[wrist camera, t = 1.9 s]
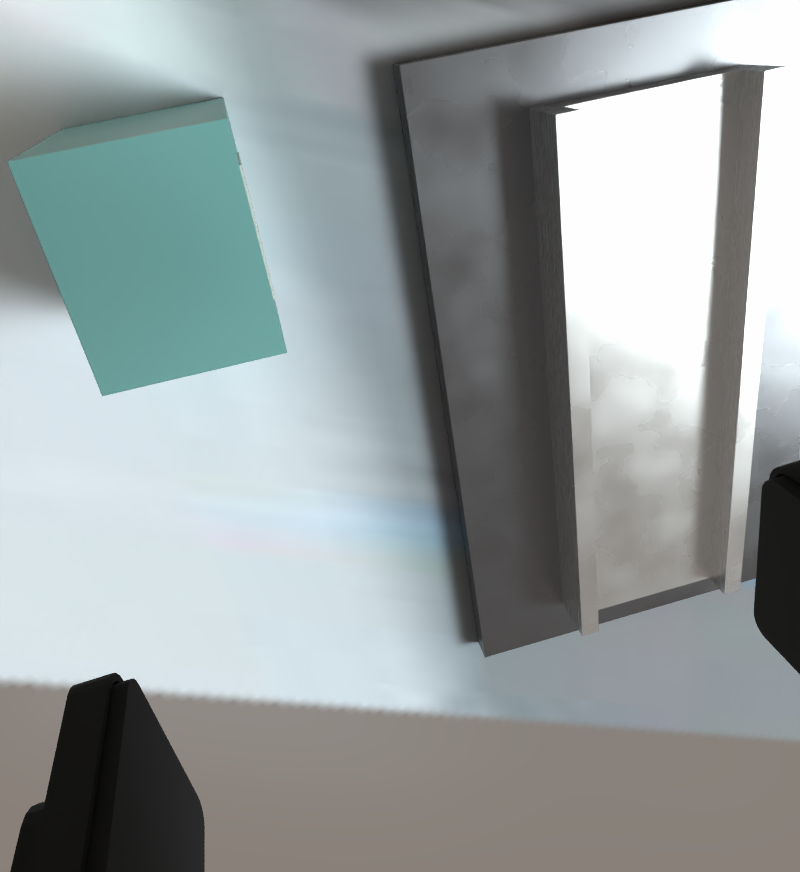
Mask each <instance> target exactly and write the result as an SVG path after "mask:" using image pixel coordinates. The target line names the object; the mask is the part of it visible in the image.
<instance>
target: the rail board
mask: <svg viewBox="0 0 800 872" xmlns="http://www.w3.org/2000/svg"><path fill="white" fill-rule="evenodd" d="M393 69H394V75H395V82H396V89H397V96H398V102H399V109H400V116H401V123H402V129H403V136H404V143H405V150H406V156H407V163H408V170H409V176H410V183H411V190H412V197H413V203H414V210H415V217H416V224H417V230H418V237H419V244H420V251H421V257H422V264H423V271H424V278H425V284H426V291H427V298H428V305H429V311H430V318H431V325H432V332H433V338H434V345H435V352H436V358H437V365H438V372H439V379H440V385H441V392H442V399H443V406H444V412H445V419H446V426H447V433H448V439H449V446H450V453H451V460H452V466H453V473H454V480H455V487H456V493H457V500H458V507H459V513H460V520H461V527H462V534H463V540H464V547H465V554H466V561H467V567H468V574H469V581H470V588H471V594H472V601H473V608H474V615H475V621H476V628H477V635H478V642H479V645H480V647H481V649H482V651H483V654H484V656H485V657H488V656H491V655H494V654H498V653H501V652H505V651H508V650H512V649H515V648H518V647H522V646H525V645H529V644H532V643H536V642H539V641H542V640H546V639H549V638H553V637H556V636H559V635H563V634H566V633H570V632H573V631H577V630H579V631H580V633H581V635H582V636H583V635H587V634H590V633H593V632H597V631H599V624H601V623H604V622H607V621H611V620H614V619H618V618H621V617H625V616H628V615H631V614H635V613H638V612H642V611H645V610H649V609H652V608H655V607H659V606H662V605H666V604H669V603H672V602H676V601H679V600H683V599H686V598H690V597H693V596H696V595H700V594H703V593H707V592H710V591H714V590H717V589H720V590H721V591H722V592H723V593H724V594H726V593H730V592H733V591H737V590H740V584H741V582H744V581H748V580H751V579H755V578H756V571H757V555H758V539H759V523H760V507H761V492H762V486H763V484H764V482H765V481H768V480H769V476H770V473H771V471H772V470H773V469H774V468H776V467H779V466H782V465H785V464H789V463H792V462H795V461H798V460H799V453H800V0H721V1H716V2H710V3H705V4H700V5H695V6H690V7H685V8H680V9H675V10H669V11H664V12H659V13H654V14H649V15H644V16H639V17H634V18H628V19H623V20H618V21H613V22H608V23H603V24H598V25H593V26H588V27H582V28H577V29H572V30H567V31H562V32H557V33H552V34H547V35H541V36H536V37H531V38H526V39H521V40H516V41H511V42H506V43H500V44H495V45H490V46H485V47H480V48H475V49H470V50H465V51H460V52H454V53H449V54H444V55H439V56H434V57H429V58H424V59H419V60H413V61H408V62H403V63H398V64H393Z"/></svg>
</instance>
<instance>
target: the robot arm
mask: <svg viewBox="0 0 800 872" xmlns="http://www.w3.org/2000/svg"><path fill="white" fill-rule="evenodd" d="M754 617H755V621H756V624H757V626H758V628H759V630H760V632H761V633H762V635H763V636H764V637H765V638H766V639H767V640H768V641H769V642H770V643H771V644H772V646H773V647H774V648H775V649H776V650H777V651H778V652H779V653H780V654H781V655H782V656H783V657H784V658H785V659H786V660H787V661H788V662H789V663H790V664H791V665H792V667H793V668H794V669H795V670H796V671H797V672H798V673H799V674H800V460H798V461H795V462H792V463H789V464H785V465H782V466H779V467H776V468H774V469H773V470H772V471H771V473H770V476H769V480H768V481H765V482H764V484H763V486H762V492H761V507H760V523H759V539H758V555H757V571H756V587H755V602H754ZM10 872H204V817H203V811H202V807H201V803H200V800H199V798H198V796H197V794H196V792H195V790H194V788H193V787H192V784H191V782H190V781H189V779H188V777H187V775H186V773H185V771H184V769H183V767H182V765H181V763H180V762H179V760H178V758H177V756H176V754H175V752H174V750H173V748H172V746H171V745H170V743H169V741H168V739H167V737H166V735H165V733H164V731H163V729H162V727H161V726H160V724H159V722H158V720H157V718H156V716H155V714H154V712H153V710H152V709H151V707H150V705H149V703H148V701H147V699H146V697H145V695H144V693H143V692H142V690H141V688H140V686H139V684H138V683H137V681H136V680H135V679H129V680H126V681H123V679H122V678H121V676H120V675H118V674H117V673H112V674H109V675H105V676H102V677H99V678H96V679H92V680H89V681H86V682H83V683H80V684H76V685H73V686H72V687H71V688H70V690H69V693H68V696H67V700H66V705H65V710H64V715H63V720H62V724H61V729H60V733H59V738H58V743H57V748H56V752H55V758H54V762H53V766H52V771H51V776H50V781H49V785H48V790H47V795H46V799H45V802H42V803H38V804H36V805H34V806H32V807H31V808H30V809H29V811H28V812H27V813H26V815H25V817H24V820H23V823H22V826H21V829H20V833H19V838H18V842H17V846H16V850H15V854H14V859H13V863H12V867H11V871H10Z"/></svg>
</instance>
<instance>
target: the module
mask: <svg viewBox="0 0 800 872" xmlns="http://www.w3.org/2000/svg"><path fill="white" fill-rule="evenodd" d="M7 163H8V165H9V168H10V170H11V173H12V175H13V178H14V180H15V182H16V185H17V187H18V190H19V192H20V195H21V197H22V200H23V202H24V205H25V207H26V209H27V212H28V214H29V217H30V219H31V222H32V224H33V227H34V229H35V232H36V234H37V237H38V239H39V241H40V244H41V246H42V249H43V251H44V254H45V256H46V259H47V261H48V264H49V266H50V269H51V271H52V273H53V276H54V278H55V281H56V283H57V286H58V288H59V291H60V293H61V296H62V298H63V301H64V303H65V305H66V308H67V310H68V313H69V315H70V318H71V320H72V323H73V325H74V328H75V330H76V332H77V335H78V337H79V340H80V342H81V345H82V347H83V350H84V352H85V355H86V357H87V360H88V362H89V364H90V367H91V369H92V372H93V374H94V377H95V379H96V382H97V384H98V387H99V389H100V392H101V394H102V396H105V395H109V394H113V393H118V392H122V391H126V390H130V389H135V388H139V387H143V386H147V385H152V384H156V383H160V382H164V381H169V380H173V379H177V378H181V377H186V376H190V375H194V374H198V373H203V372H207V371H211V370H215V369H220V368H224V367H228V366H232V365H237V364H241V363H245V362H249V361H254V360H258V359H262V358H266V357H271V356H275V355H279V354H283V353H287V350H286V346H285V342H284V338H283V333H282V329H281V325H280V320H279V316H278V312H277V307H276V303H275V300H276V299H275V295H274V291H273V286H272V282H271V278H270V274H269V270H268V266H267V262H266V258H265V254H264V250H263V246H262V242H261V239H260V235H259V231H258V227H257V223H256V219H255V215H254V211H253V207H252V203H251V199H250V195H249V192H248V188H247V184H246V180H245V176H244V172H243V168H242V164H241V160H240V156H239V152H237V148H236V144H235V140H234V137H233V133H232V129H231V125H230V121H229V117H228V113H227V109H226V105H225V101H224V98H219V99H213V100H208V101H203V102H198V103H193V104H188V105H183V106H177V107H172V108H167V109H162V110H157V111H152V112H147V113H141V114H136V115H131V116H126V117H121V118H116V119H111V120H105V121H100V122H95V123H90V124H85V125H80V126H75V127H69V128H64V129H61V130H59V131H58V132H56V133H54V134H53V135H51V136H49V137H48V138H46V139H44V140H43V141H41V142H39V143H38V144H36V145H34V146H33V147H31V148H29V149H28V150H26V151H24V152H23V153H21V154H19V155H18V156H16V157H14V158H13V159H11V160H9V161H8V162H7Z"/></svg>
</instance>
